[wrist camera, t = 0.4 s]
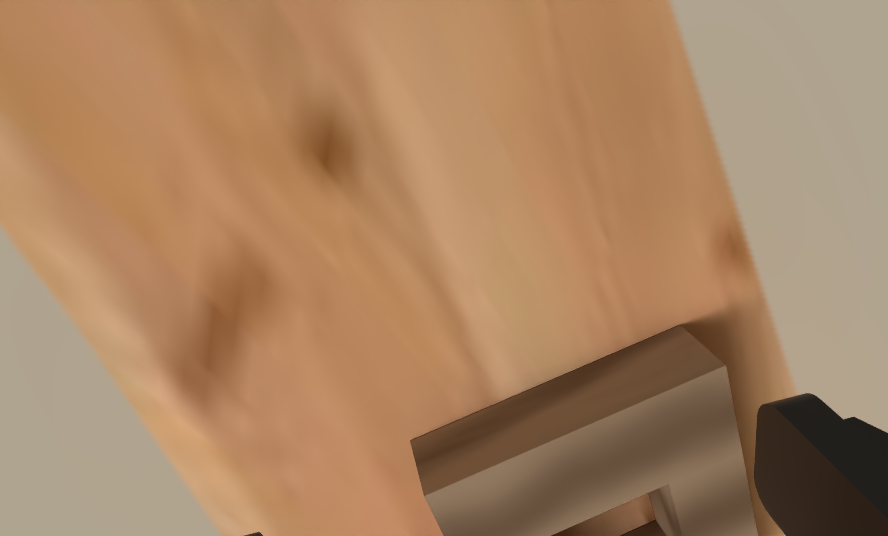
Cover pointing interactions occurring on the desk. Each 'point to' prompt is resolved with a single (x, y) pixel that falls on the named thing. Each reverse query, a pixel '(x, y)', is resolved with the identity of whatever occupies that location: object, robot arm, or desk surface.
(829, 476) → the robot arm
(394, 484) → the desk surface
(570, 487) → the socket block
